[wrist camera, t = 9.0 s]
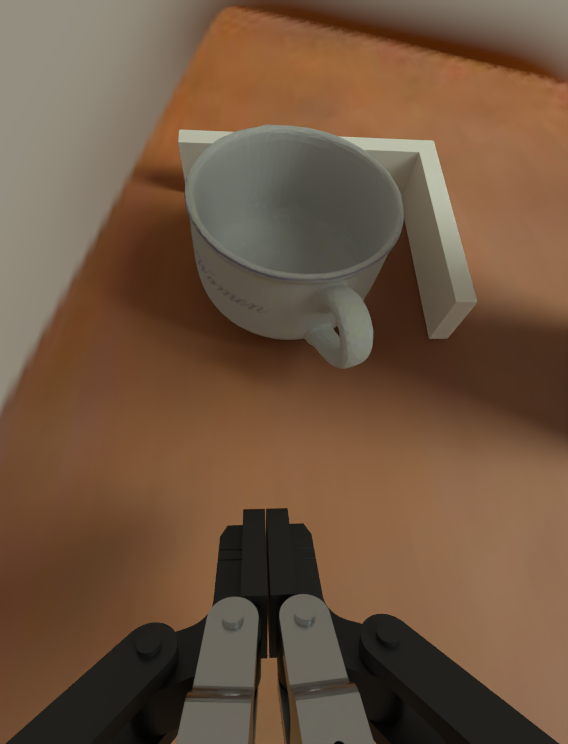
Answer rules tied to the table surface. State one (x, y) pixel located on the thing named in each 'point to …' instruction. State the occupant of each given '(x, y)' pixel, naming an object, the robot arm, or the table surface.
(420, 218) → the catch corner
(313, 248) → the teacup
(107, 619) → the table surface
